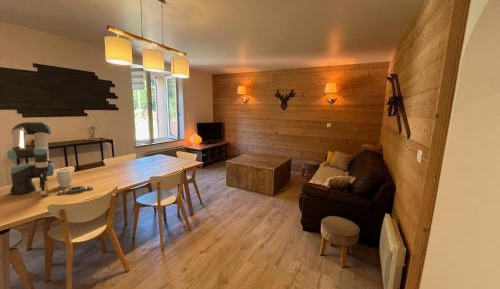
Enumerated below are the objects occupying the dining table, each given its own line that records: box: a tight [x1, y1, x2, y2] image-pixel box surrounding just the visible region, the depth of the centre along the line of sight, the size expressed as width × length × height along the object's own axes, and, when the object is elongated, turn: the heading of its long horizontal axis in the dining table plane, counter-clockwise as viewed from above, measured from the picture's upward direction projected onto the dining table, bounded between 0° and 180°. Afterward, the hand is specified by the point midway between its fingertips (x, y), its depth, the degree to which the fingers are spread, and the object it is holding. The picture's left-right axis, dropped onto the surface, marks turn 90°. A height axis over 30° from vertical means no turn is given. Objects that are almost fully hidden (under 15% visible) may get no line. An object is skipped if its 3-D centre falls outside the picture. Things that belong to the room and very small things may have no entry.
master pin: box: [41, 180, 49, 198], centre depth 176 cm, size 5×5×12 cm
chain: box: [57, 185, 94, 195], centre depth 189 cm, size 10×24×3 cm, turn 129°
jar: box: [56, 168, 73, 188], centre depth 198 cm, size 11×10×15 cm
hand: (44, 191), depth 176 cm, fingers open, 13 cm apart
